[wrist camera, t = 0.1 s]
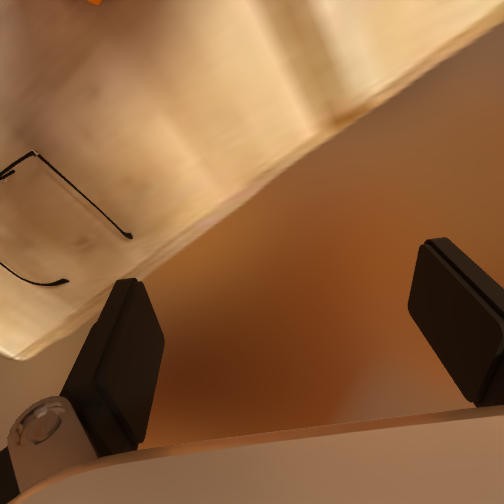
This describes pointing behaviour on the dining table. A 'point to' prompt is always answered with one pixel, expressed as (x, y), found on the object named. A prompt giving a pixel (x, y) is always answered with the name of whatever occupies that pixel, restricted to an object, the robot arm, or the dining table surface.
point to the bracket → (95, 1)
